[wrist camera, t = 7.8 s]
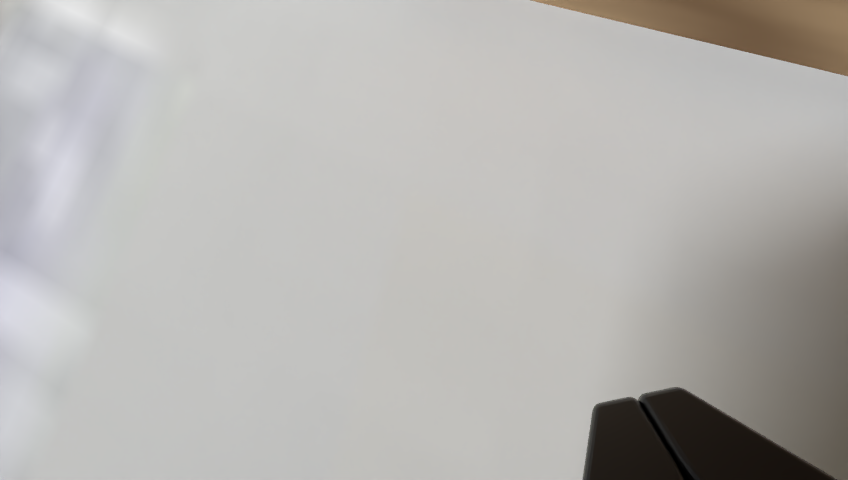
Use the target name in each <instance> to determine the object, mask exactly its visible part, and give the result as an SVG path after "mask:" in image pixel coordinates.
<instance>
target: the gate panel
mask: <svg viewBox="0 0 848 480" xmlns="http://www.w3.org/2000/svg"><path fill="white" fill-rule="evenodd" d="M532 1H536V2H540V3H544V4H548V5H552V6H557V7H561V8H565V9H569V10H573V11H578V12H582V13H586V14H590V15H594V16H599V17H603V18H607V19H611V20H615V21H619V22H624V23H628V24H632V25H636V26H640V27H645V28H649V29H653V30H657V31H661V32H665V33H670V34H674V35H678V36H682V37H686V38H691V39H695V40H699V41H703V42H707V43H712V44H716V45H720V46H724V47H728V48H732V49H737V50H741V51H745V52H749V53H753V54H758V55H762V56H766V57H770V58H774V59H778V60H783V61H787V62H791V63H795V64H799V65H804V66H808V67H812V68H816V69H820V70H824V71H829V72H833V73H837V74H841V75H845V76H848V0H532Z"/></svg>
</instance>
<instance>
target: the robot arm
mask: <svg viewBox="0 0 848 480" xmlns="http://www.w3.org/2000/svg"><path fill="white" fill-rule="evenodd" d="M583 480H837V479H835V478H833V477H832V476H830V475H828V474H827V473H825V472H823V471H822V470H820V469H818V468H817V467H815V466H813V465H811V464H810V463H808V462H806V461H805V460H803V459H801V458H800V457H798V456H796V455H795V454H793V453H791V452H790V451H788V450H786V449H784V448H783V447H781V446H779V445H778V444H776V443H774V442H773V441H771V440H769V439H768V438H766V437H764V436H763V435H761V434H759V433H758V432H756V431H754V430H752V429H751V428H749V427H747V426H746V425H744V424H742V423H741V422H739V421H737V420H736V419H734V418H732V417H731V416H729V415H727V414H725V413H724V412H722V411H720V410H719V409H717V408H715V407H714V406H712V405H710V404H709V403H707V402H705V401H704V400H702V399H700V398H699V397H697V396H695V395H693V394H692V393H690V392H688V391H687V390H685V389H683V388H679V387H673V388H669V389H664V390H659V391H654V392H650V393H645V394H642V395H641V396H640V397H639V399H638V401H637V400H636V399H635V398H632V397H626V398H621V399H617V400H612V401H607V402H602V403H599V404H597V405H595V406H594V408H593V412H592V418H591V425H590V432H589V439H588V446H587V453H586V460H585V467H584V474H583Z"/></svg>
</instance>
